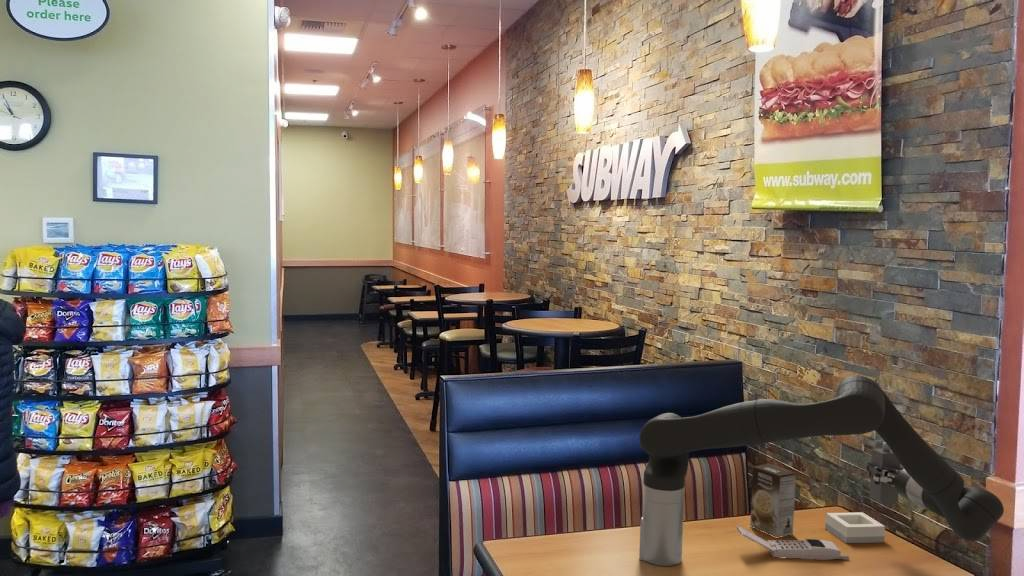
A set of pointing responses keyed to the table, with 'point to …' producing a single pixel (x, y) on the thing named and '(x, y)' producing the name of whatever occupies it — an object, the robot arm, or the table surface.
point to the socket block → (855, 527)
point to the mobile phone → (797, 547)
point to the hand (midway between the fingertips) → (878, 466)
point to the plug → (881, 458)
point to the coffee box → (773, 499)
